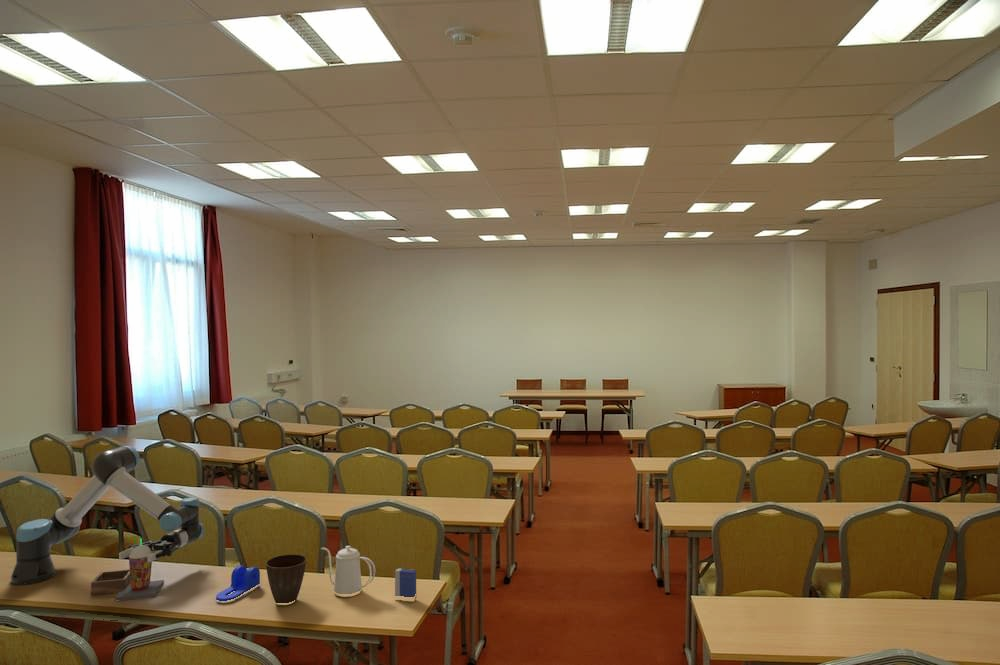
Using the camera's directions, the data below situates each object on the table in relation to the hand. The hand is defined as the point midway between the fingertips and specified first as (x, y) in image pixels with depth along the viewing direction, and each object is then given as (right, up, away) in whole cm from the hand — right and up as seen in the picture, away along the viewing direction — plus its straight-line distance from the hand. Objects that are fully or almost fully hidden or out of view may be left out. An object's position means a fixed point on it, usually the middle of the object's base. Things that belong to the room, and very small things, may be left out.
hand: (133, 557), depth 244 cm
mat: (+1, -15, +3) cm, 15 cm away
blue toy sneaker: (+40, -15, +1) cm, 43 cm away
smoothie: (+1, -14, +3) cm, 14 cm away
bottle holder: (-13, -15, +7) cm, 21 cm away
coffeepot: (+85, -15, +2) cm, 86 cm away
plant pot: (+63, -15, -6) cm, 65 cm away
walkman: (+109, -15, -5) cm, 111 cm away
